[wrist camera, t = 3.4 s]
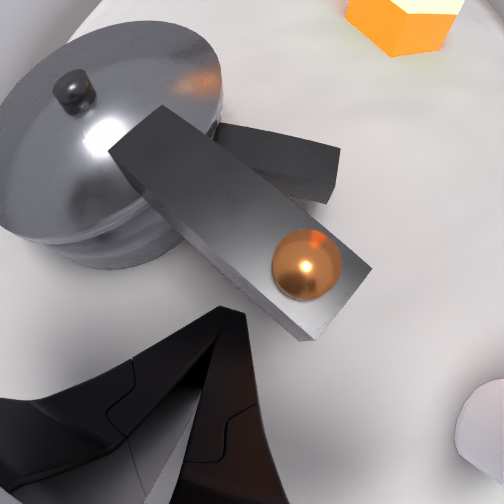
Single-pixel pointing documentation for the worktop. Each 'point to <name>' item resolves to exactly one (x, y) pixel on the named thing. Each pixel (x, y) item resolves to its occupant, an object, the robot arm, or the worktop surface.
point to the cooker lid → (160, 169)
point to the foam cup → (483, 429)
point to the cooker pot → (246, 150)
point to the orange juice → (404, 23)
